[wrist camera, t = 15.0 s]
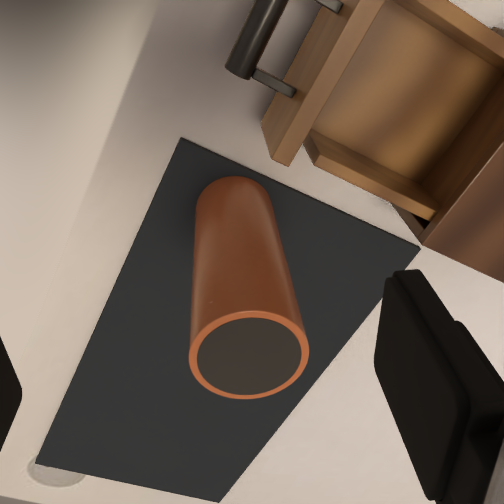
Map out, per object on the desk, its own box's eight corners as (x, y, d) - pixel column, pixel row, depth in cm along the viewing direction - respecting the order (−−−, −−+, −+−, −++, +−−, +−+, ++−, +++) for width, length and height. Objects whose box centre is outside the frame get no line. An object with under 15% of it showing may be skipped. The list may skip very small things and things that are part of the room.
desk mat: (180, 137, 34) (180, 138, 34) (419, 246, 41) (421, 249, 40) (35, 460, 52) (34, 463, 51) (219, 499, 58) (219, 503, 58)
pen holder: (183, 190, 36) (169, 333, 22) (259, 165, 35) (292, 296, 22) (211, 253, 39) (213, 412, 25) (281, 231, 38) (321, 382, 25)
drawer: (203, 95, 32) (202, 126, 26) (291, -100, 27) (314, -115, 21) (411, 199, 37) (448, 243, 31) (518, 53, 32) (587, 75, 26)
